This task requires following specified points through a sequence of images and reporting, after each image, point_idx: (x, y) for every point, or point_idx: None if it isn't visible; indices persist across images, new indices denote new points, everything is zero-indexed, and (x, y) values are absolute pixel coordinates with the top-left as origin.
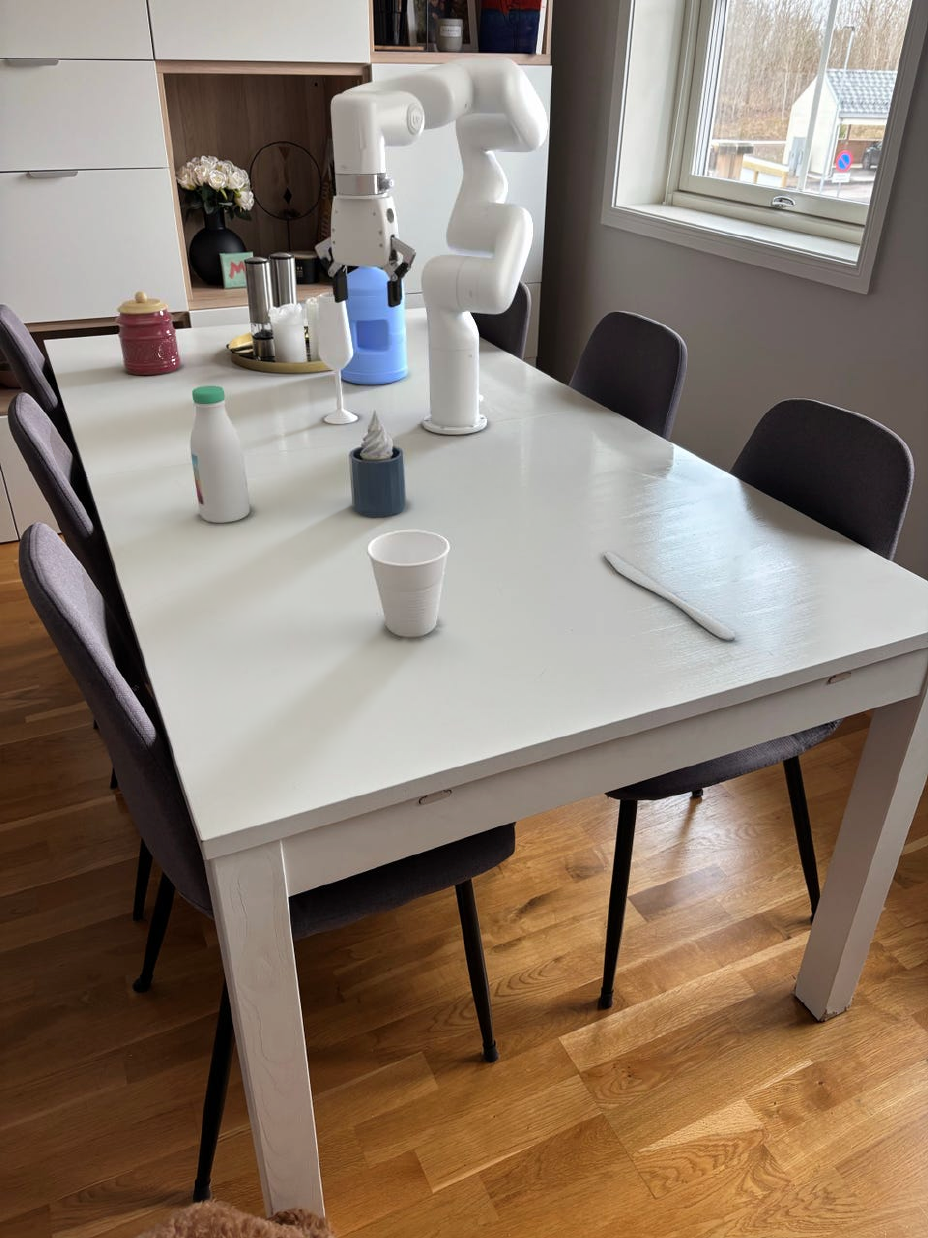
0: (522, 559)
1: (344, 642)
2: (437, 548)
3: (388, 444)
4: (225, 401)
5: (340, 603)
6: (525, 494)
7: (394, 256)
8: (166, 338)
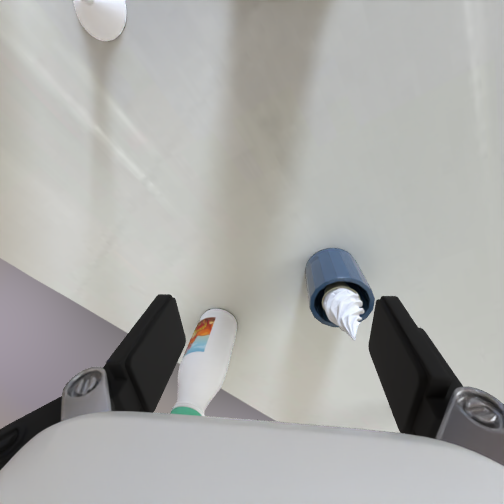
0: (498, 314)
1: (393, 416)
2: None
3: (362, 313)
4: (199, 407)
5: (373, 391)
6: (489, 178)
7: (484, 495)
8: None
